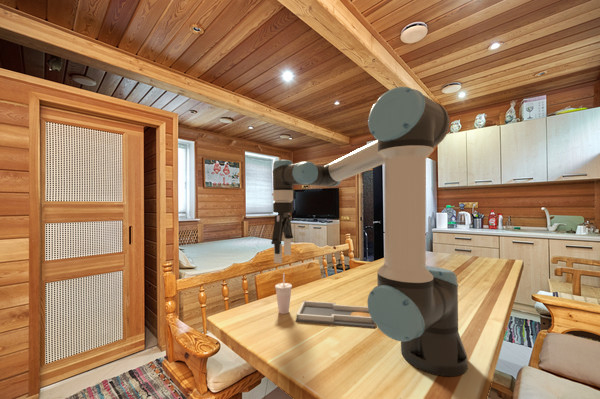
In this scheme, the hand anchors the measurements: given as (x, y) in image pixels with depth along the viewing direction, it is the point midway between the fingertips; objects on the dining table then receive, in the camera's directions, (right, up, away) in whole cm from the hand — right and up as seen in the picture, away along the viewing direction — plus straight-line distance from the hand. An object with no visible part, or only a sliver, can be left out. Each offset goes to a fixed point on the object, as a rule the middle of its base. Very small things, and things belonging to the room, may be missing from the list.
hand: (283, 258), depth 93 cm
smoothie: (0, -20, -1) cm, 20 cm away
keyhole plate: (+19, -19, -4) cm, 27 cm away
